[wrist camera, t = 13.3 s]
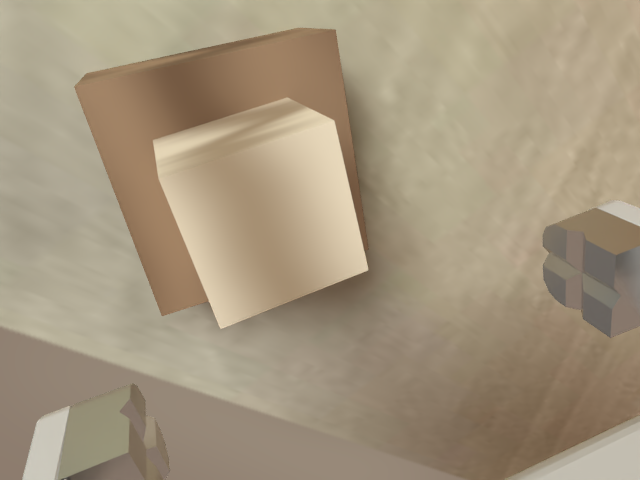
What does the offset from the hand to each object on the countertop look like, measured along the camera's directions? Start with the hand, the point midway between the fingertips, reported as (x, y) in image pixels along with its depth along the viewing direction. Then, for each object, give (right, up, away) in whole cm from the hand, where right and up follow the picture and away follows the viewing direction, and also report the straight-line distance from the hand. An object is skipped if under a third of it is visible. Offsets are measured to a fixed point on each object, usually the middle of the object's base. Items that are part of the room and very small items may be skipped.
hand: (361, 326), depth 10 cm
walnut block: (-5, +6, +14) cm, 16 cm away
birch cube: (-4, +4, +10) cm, 11 cm away
